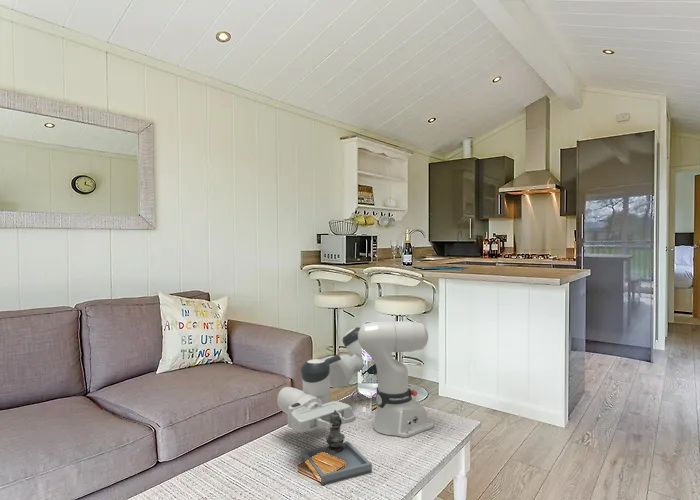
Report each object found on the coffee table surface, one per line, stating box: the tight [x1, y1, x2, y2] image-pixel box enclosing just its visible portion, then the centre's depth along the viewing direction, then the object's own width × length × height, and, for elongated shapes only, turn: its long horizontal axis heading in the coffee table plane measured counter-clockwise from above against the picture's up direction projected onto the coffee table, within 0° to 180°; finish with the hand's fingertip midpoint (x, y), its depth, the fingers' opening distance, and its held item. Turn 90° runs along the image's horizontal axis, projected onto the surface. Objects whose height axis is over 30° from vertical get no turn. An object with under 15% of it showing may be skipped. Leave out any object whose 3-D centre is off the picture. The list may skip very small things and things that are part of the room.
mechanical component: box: [344, 404, 356, 424], centre depth 171 cm, size 10×4×10 cm
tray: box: [301, 441, 373, 486], centre depth 135 cm, size 16×16×2 cm
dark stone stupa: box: [324, 410, 345, 453], centre depth 135 cm, size 6×6×12 cm
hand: (336, 423), depth 134 cm, fingers closed on dark stone stupa, 4 cm apart
